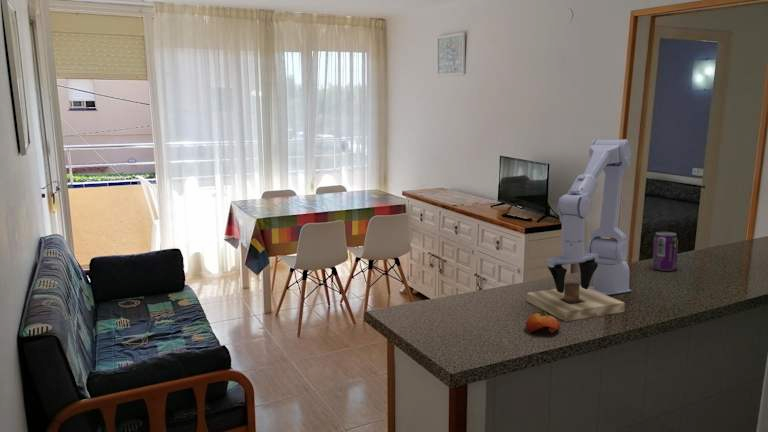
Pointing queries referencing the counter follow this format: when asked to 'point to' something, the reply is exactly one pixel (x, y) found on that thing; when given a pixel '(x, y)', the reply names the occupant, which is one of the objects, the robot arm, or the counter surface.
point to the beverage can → (665, 251)
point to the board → (586, 308)
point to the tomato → (541, 322)
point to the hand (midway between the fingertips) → (572, 290)
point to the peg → (571, 292)
